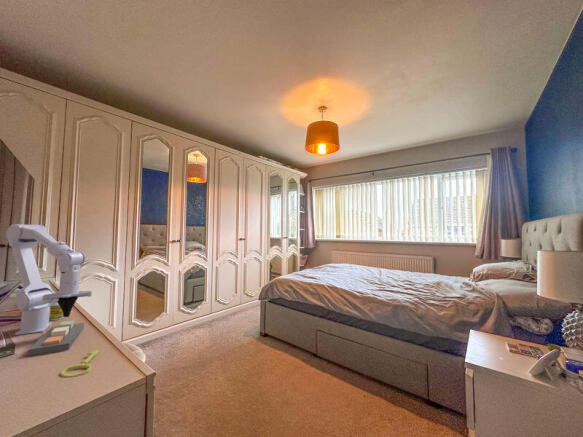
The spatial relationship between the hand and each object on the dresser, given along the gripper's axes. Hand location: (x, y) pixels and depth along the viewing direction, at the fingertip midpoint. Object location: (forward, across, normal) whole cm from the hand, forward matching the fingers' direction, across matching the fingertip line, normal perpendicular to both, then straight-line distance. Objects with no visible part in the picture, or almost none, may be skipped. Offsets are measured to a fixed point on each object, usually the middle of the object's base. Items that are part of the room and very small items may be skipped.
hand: (66, 316), depth 94 cm
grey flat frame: (+7, 0, -6) cm, 9 cm away
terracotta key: (+6, 0, -13) cm, 14 cm away
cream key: (+5, 0, -6) cm, 8 cm away
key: (+8, +12, -31) cm, 34 cm away
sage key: (+5, 0, 0) cm, 5 cm away
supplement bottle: (+7, -8, +22) cm, 24 cm away
